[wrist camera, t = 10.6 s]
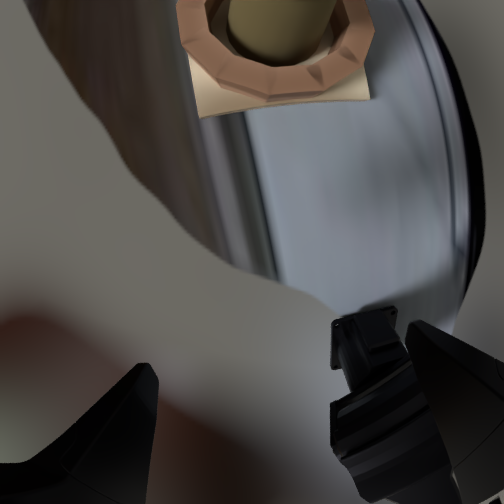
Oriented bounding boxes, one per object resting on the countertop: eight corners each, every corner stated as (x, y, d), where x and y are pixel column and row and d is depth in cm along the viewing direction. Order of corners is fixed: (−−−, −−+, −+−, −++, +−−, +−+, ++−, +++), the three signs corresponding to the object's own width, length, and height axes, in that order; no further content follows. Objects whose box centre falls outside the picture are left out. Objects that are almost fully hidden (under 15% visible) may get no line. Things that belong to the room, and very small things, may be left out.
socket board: (363, 101, 15) (392, 94, 11) (202, 118, 16) (189, 113, 12) (330, -22, 11) (347, -48, 7) (181, -9, 11) (167, -37, 8)
